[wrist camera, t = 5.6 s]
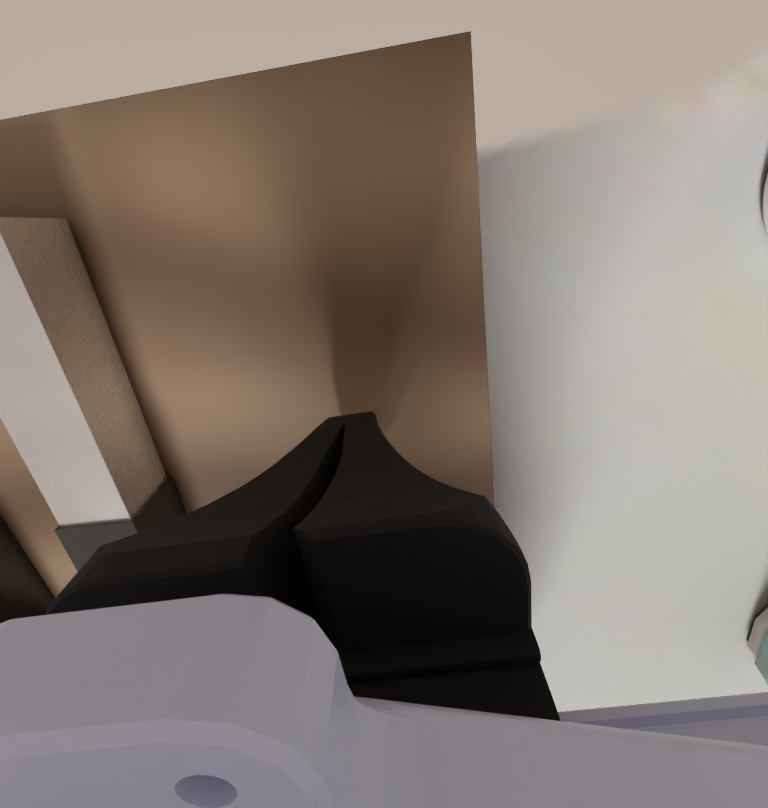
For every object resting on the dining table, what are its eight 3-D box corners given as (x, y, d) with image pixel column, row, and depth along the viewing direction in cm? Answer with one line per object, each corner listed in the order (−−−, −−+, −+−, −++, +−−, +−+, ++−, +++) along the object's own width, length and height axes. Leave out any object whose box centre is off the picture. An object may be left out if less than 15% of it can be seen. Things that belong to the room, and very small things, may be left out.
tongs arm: (252, 684, 17) (232, 755, 15) (112, 695, 17) (71, 767, 15) (72, 218, 10) (-22, 215, 8) (-162, 248, 10) (-322, 254, 8)
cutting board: (493, 651, 19) (502, 685, 17) (64, 695, 20) (40, 730, 18) (458, 58, 10) (470, 31, 9) (-306, 200, 11) (-404, 195, 10)
